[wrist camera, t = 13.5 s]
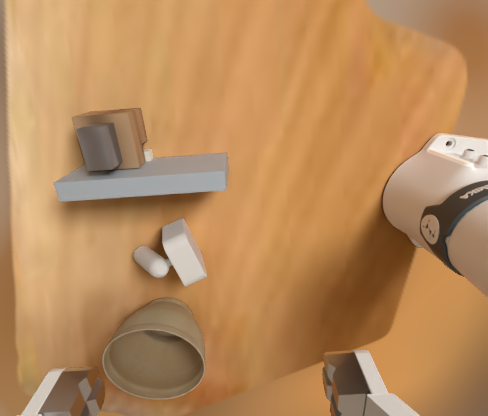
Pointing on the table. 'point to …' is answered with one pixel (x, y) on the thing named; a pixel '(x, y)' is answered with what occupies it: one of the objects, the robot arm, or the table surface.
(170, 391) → the planter bowl
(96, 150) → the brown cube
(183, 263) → the wall hook
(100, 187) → the wall board
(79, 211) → the table surface
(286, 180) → the table surface
